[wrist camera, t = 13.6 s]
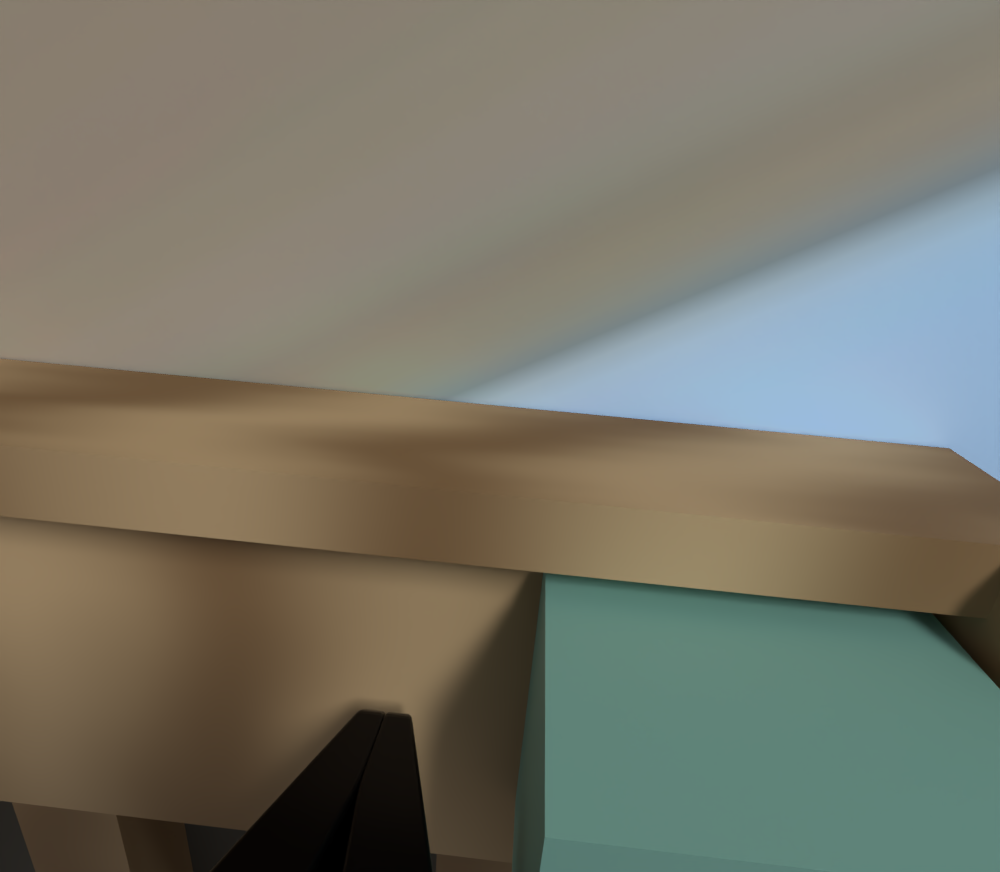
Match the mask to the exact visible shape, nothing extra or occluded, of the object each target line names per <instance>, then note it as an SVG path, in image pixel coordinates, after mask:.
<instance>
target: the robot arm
mask: <svg viewBox="0 0 1000 872" xmlns="http://www.w3.org/2000/svg"><path fill="white" fill-rule="evenodd" d="M210 872H433V869H432V861H431V854H430V847H429V839H428V832H427V825H426V817H425V810H424V802H423V795H422V788H421V780H420V773H419V766H418V758H417V751H416V743H415V736H414V729H413V722H412V717H411V715H409V714H405V713H396V712H387V713H385V712H383V711H378V710H369V709H361V710H359V711H358V712H357V713H356V714H355V715H354V716H353V717H352V718H351V719H350V720H349V721H348V722H347V723H346V724H345V725H344V727H343V728H342V729H341V730H340V731H339V732H338V733H337V734H336V735H335V736H334V737H333V738H332V740H331V741H330V742H329V743H328V744H327V745H326V746H325V747H324V748H323V749H322V750H321V751H320V753H319V754H318V755H317V756H316V757H315V758H314V759H313V760H312V761H311V762H310V763H309V764H308V766H307V767H306V768H305V769H304V770H303V771H302V772H301V773H300V774H299V775H298V776H297V777H296V778H295V780H294V781H293V782H292V783H291V784H290V785H289V786H288V787H287V788H286V789H285V790H284V791H283V793H282V794H281V795H280V796H279V797H278V798H277V799H276V800H275V801H274V802H273V803H272V804H271V806H270V807H269V808H268V809H267V810H266V811H265V812H264V813H263V814H262V815H261V816H260V817H259V819H258V820H257V821H256V822H255V823H254V824H253V825H252V826H251V827H250V828H249V829H248V830H247V831H246V833H245V834H244V835H243V836H242V837H241V838H240V839H239V840H238V841H237V842H236V843H235V844H234V846H233V847H232V848H231V849H230V850H229V851H228V852H227V853H226V854H225V855H224V856H223V857H222V859H221V860H220V861H219V862H218V863H217V864H216V865H215V866H214V867H213V868H212V869H211V870H210Z"/></svg>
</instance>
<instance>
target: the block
mask: <svg viewBox="0 0 1000 872" xmlns="http://www.w3.org/2000/svg"><path fill="white" fill-rule="evenodd" d="M512 872H1000V689H999V688H998V687H997V686H996V684H995V683H994V682H993V681H992V680H991V679H990V678H989V677H988V675H987V674H986V673H985V672H984V671H983V670H982V669H981V668H980V667H979V665H978V664H977V663H976V662H975V661H974V660H973V659H972V658H971V656H970V655H969V654H968V653H967V652H966V651H965V650H964V649H963V648H962V646H961V645H960V644H959V643H958V642H957V641H956V640H955V639H954V637H953V636H952V635H951V634H950V633H949V632H948V631H947V630H946V629H945V627H944V626H943V625H942V624H941V623H940V622H939V621H938V620H937V618H936V617H935V616H934V615H933V614H932V613H927V612H917V611H907V610H898V609H888V608H879V607H869V606H859V605H850V604H840V603H830V602H821V601H811V600H802V599H792V598H782V597H773V596H763V595H754V594H744V593H734V592H725V591H715V590H706V589H696V588H686V587H677V586H667V585H658V584H648V583H638V582H629V581H619V580H610V579H600V578H590V577H581V576H571V575H562V574H552V573H543V578H542V586H541V595H540V603H539V611H538V619H537V627H536V636H535V644H534V652H533V660H532V668H531V677H530V685H529V693H528V701H527V709H526V718H525V726H524V734H523V742H522V750H521V759H520V767H519V775H518V783H517V791H516V800H515V818H514V838H513V858H512Z"/></svg>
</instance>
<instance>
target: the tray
mask: <svg viewBox="0 0 1000 872" xmlns="http://www.w3.org/2000/svg"><path fill="white" fill-rule="evenodd" d="M543 573H552V574H562V575H571V576H581V577H590V578H600V579H610V580H619V581H629V582H638V583H648V584H658V585H667V586H677V587H686V588H696V589H706V590H715V591H725V592H734V593H744V594H754V595H763V596H773V597H782V598H792V599H802V600H811V601H821V602H830V603H840V604H850V605H859V606H869V607H879V608H888V609H898V610H907V611H917V612H927V613H932V614H933V615H934V616H935V617H936V618H937V620H938V621H939V622H940V623H941V624H942V625H943V626H944V627H945V629H946V630H947V631H948V632H949V633H950V634H951V635H952V636H953V637H954V639H955V640H956V641H957V642H958V643H959V644H960V645H961V646H962V648H963V649H964V650H965V651H966V652H967V653H968V654H969V655H970V656H971V658H972V659H973V660H974V661H975V662H976V663H977V664H978V665H979V667H980V668H981V669H982V670H983V671H984V672H985V673H986V674H987V675H988V677H989V678H990V679H991V680H992V681H993V682H994V683H995V684H996V686H997V687H998V688H999V689H1000V482H999V481H998V480H996V479H995V478H993V477H992V476H990V475H989V474H987V473H986V472H984V471H983V470H981V469H980V468H978V467H977V466H975V465H974V464H972V463H971V462H969V461H968V460H966V459H965V458H963V457H962V456H960V455H959V454H957V453H956V452H954V451H952V450H951V449H949V448H939V447H928V446H918V445H907V444H896V443H886V442H875V441H865V440H854V439H844V438H833V437H822V436H812V435H801V434H791V433H780V432H769V431H759V430H748V429H738V428H727V427H717V426H706V425H695V424H685V423H674V422H664V421H653V420H643V419H632V418H621V417H611V416H600V415H590V414H579V413H568V412H558V411H547V410H537V409H526V408H516V407H505V406H494V405H484V404H473V403H463V402H452V401H441V400H431V399H420V398H410V397H399V396H389V395H378V394H367V393H357V392H346V391H336V390H325V389H314V388H304V387H293V386H283V385H272V384H262V383H251V382H240V381H230V380H219V379H209V378H198V377H187V376H177V375H166V374H156V373H145V372H135V371H124V370H113V369H103V368H92V367H82V366H71V365H61V364H50V363H39V362H29V361H18V360H8V359H0V872H210V870H211V869H212V868H213V867H214V866H215V865H216V864H217V863H218V862H219V861H220V860H221V859H222V857H223V856H224V855H225V854H226V853H227V852H228V851H229V850H230V849H231V848H232V847H233V846H234V844H235V843H236V842H237V841H238V840H239V839H240V838H241V837H242V836H243V835H244V834H245V833H246V831H247V830H248V829H249V828H250V827H251V826H252V825H253V824H254V823H255V822H256V821H257V820H258V819H259V817H260V816H261V815H262V814H263V813H264V812H265V811H266V810H267V809H268V808H269V807H270V806H271V804H272V803H273V802H274V801H275V800H276V799H277V798H278V797H279V796H280V795H281V794H282V793H283V791H284V790H285V789H286V788H287V787H288V786H289V785H290V784H291V783H292V782H293V781H294V780H295V778H296V777H297V776H298V775H299V774H300V773H301V772H302V771H303V770H304V769H305V768H306V767H307V766H308V764H309V763H310V762H311V761H312V760H313V759H314V758H315V757H316V756H317V755H318V754H319V753H320V751H321V750H322V749H323V748H324V747H325V746H326V745H327V744H328V743H329V742H330V741H331V740H332V738H333V737H334V736H335V735H336V734H337V733H338V732H339V731H340V730H341V729H342V728H343V727H344V725H345V724H346V723H347V722H348V721H349V720H350V719H351V718H352V717H353V716H354V715H355V714H356V713H357V712H358V711H359V710H361V709H369V710H378V711H383V712H385V713H387V712H396V713H405V714H409V715H411V717H412V722H413V729H414V736H415V743H416V751H417V758H418V766H419V773H420V780H421V788H422V795H423V802H424V810H425V817H426V825H427V832H428V839H429V847H430V854H431V861H432V869H433V872H512V858H513V838H514V818H515V800H516V791H517V783H518V775H519V767H520V759H521V750H522V742H523V734H524V726H525V718H526V709H527V701H528V693H529V685H530V677H531V668H532V660H533V652H534V644H535V636H536V627H537V619H538V611H539V603H540V595H541V586H542V578H543Z"/></svg>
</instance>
